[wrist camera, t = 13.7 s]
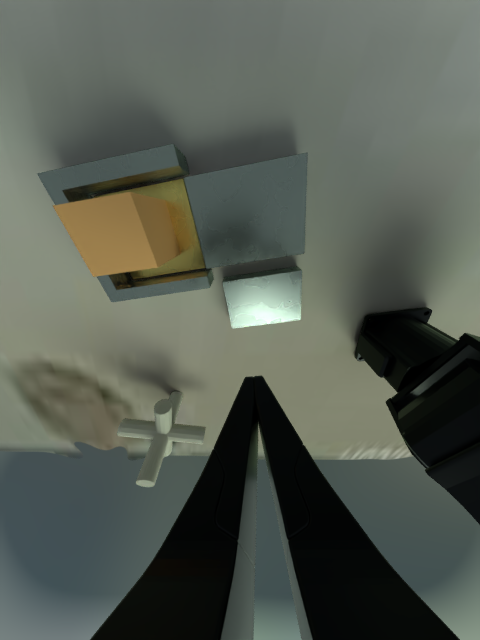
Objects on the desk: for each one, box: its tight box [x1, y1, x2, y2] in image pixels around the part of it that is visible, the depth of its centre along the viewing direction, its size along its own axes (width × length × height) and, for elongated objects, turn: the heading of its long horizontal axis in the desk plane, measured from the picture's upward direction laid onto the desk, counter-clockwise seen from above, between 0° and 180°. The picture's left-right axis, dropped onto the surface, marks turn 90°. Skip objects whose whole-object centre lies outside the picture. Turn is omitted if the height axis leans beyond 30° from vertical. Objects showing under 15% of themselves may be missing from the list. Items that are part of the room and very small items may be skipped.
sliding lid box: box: [38, 144, 308, 302], centre depth 14 cm, size 17×9×2 cm, turn 99°
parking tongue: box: [222, 266, 302, 328], centre depth 17 cm, size 7×5×2 cm
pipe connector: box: [117, 391, 205, 487], centre depth 22 cm, size 10×10×10 cm
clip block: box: [53, 192, 181, 277], centre depth 13 cm, size 5×4×4 cm
